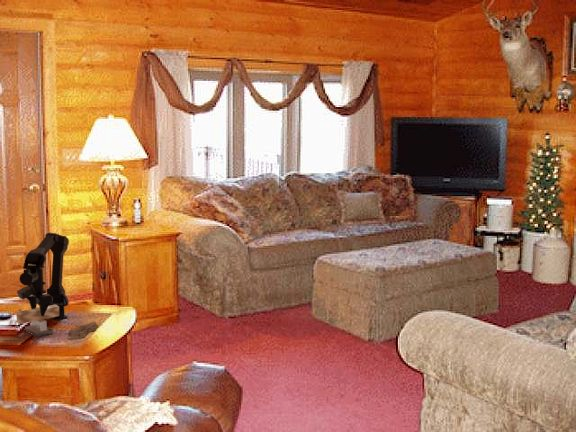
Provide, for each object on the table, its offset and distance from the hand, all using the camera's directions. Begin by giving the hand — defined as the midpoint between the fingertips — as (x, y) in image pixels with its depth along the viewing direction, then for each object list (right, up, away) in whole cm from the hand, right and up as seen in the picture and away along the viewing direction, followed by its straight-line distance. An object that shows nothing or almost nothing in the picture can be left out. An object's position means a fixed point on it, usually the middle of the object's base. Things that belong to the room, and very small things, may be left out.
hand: (38, 313), depth 320 cm
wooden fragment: (+19, -9, +4) cm, 21 cm away
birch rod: (0, -2, 0) cm, 2 cm away
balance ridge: (0, -8, +1) cm, 8 cm away
